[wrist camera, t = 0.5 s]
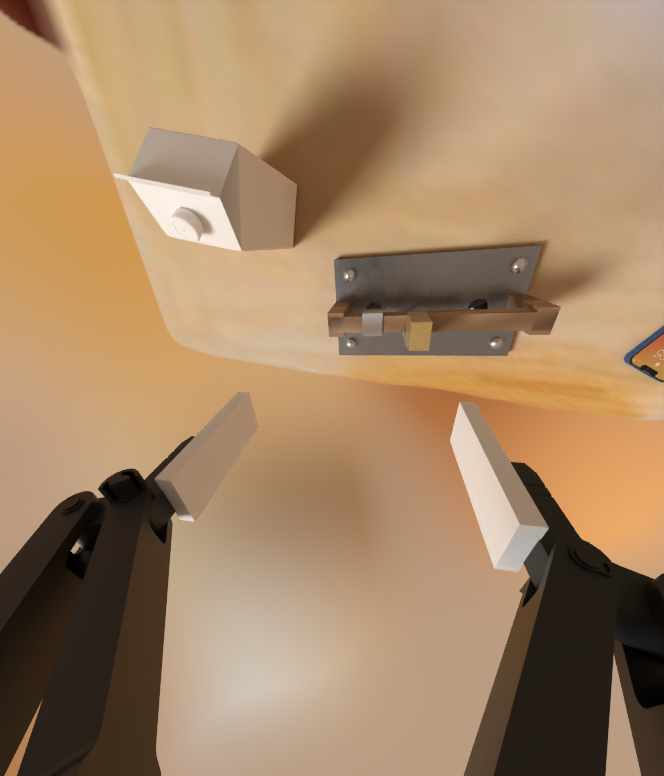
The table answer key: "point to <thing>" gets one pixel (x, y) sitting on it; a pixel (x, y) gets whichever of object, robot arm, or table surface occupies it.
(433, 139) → the table surface
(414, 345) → the slider
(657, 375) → the smartphone
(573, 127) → the table surface
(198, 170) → the milk carton
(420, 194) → the table surface
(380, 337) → the flange plate
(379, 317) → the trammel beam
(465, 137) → the table surface
